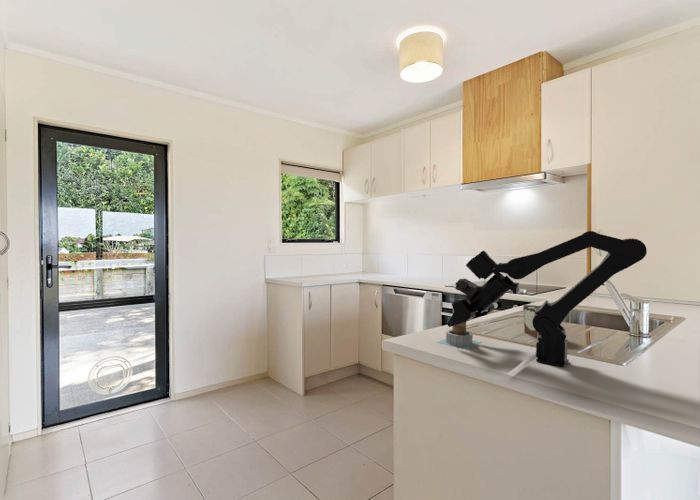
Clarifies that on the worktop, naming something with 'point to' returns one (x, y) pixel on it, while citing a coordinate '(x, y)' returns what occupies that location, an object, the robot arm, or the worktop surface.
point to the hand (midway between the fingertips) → (455, 323)
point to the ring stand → (459, 340)
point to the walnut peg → (459, 328)
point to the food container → (530, 321)
